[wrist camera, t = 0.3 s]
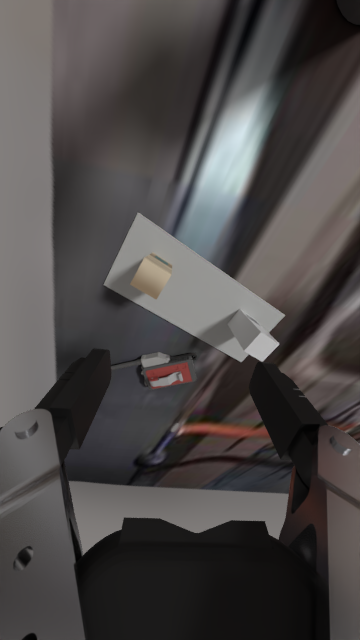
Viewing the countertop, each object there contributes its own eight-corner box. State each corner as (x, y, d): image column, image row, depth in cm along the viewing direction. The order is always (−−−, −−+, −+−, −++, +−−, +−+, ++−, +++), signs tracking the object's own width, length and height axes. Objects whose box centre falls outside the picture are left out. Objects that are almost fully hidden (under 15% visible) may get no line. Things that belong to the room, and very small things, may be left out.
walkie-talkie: (193, 342, 40) (109, 360, 42) (195, 354, 36) (102, 373, 38) (200, 372, 44) (122, 388, 45) (203, 386, 40) (117, 403, 41)
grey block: (239, 308, 37) (261, 331, 27) (254, 318, 38) (279, 343, 28) (227, 324, 38) (243, 351, 29) (241, 333, 39) (262, 361, 30)
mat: (138, 212, 29) (137, 212, 29) (284, 314, 38) (285, 315, 37) (104, 284, 34) (103, 284, 34) (240, 361, 42) (241, 362, 42)
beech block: (153, 252, 32) (144, 257, 23) (172, 264, 33) (171, 274, 24) (142, 271, 33) (130, 284, 24) (161, 283, 34) (156, 299, 25)
